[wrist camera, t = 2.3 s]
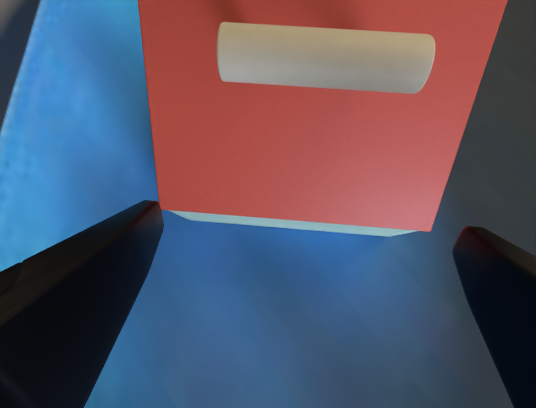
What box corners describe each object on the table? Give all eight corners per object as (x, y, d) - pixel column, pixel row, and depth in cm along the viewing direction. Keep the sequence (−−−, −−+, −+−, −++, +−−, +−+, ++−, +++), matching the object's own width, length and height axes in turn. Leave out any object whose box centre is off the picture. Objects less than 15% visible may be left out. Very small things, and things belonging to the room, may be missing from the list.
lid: (135, -82, 12) (-7, -228, 6) (518, -63, 11) (753, -204, 6) (164, 205, 17) (102, 270, 11) (425, 226, 17) (497, 305, 11)
